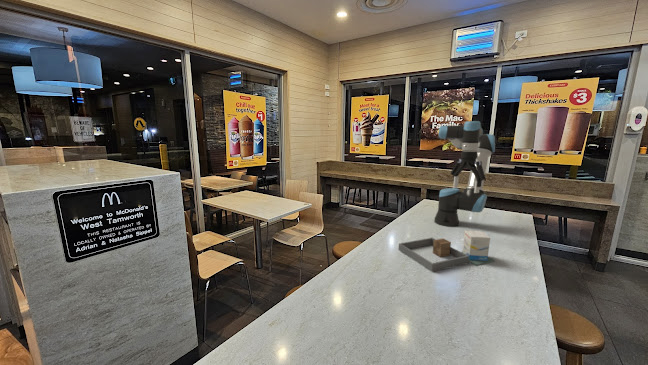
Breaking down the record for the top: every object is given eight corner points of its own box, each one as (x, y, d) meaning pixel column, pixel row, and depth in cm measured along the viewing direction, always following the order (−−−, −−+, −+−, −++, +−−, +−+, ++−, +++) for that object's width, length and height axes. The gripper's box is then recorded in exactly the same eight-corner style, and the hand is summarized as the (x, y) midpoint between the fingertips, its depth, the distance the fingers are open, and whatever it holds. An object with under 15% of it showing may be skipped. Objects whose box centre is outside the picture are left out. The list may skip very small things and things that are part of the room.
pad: (455, 254, 134) (455, 253, 134) (472, 250, 138) (472, 249, 138) (476, 265, 123) (476, 264, 123) (494, 261, 127) (494, 260, 127)
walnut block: (432, 253, 136) (433, 240, 135) (441, 251, 138) (443, 238, 137) (440, 257, 131) (441, 244, 130) (449, 255, 134) (450, 242, 132)
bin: (398, 249, 139) (398, 243, 139) (431, 243, 147) (431, 237, 147) (431, 271, 118) (432, 264, 117) (468, 263, 126) (469, 256, 125)
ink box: (488, 261, 126) (490, 237, 124) (468, 260, 127) (471, 236, 125) (480, 253, 134) (482, 230, 132) (462, 252, 136) (464, 230, 133)
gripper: (445, 149, 153) (442, 186, 157) (486, 153, 130) (481, 195, 134) (455, 149, 156) (452, 185, 160) (496, 152, 133) (491, 194, 137)
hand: (465, 190), depth 147 cm, fingers open, 13 cm apart
